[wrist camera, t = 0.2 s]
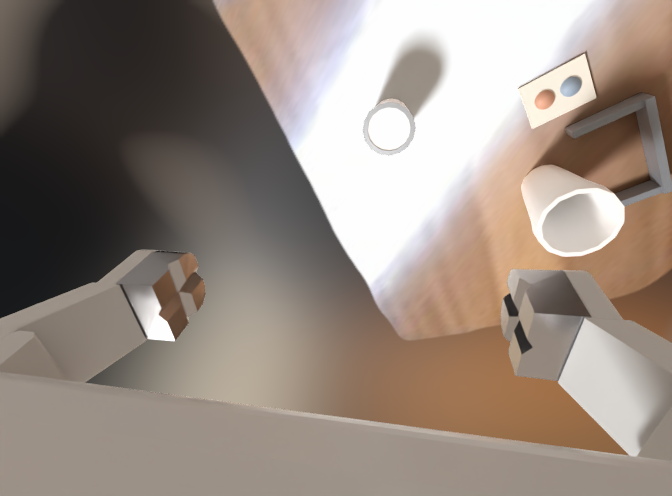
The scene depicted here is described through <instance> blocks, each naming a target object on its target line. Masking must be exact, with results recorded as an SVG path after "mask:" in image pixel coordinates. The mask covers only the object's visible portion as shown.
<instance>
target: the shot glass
mask: <svg viewBox="0 0 672 496" xmlns="http://www.w3.org/2000/svg"><path fill="white" fill-rule="evenodd" d="M414 132H415V123H414V118H413V116H412V114H411V113H410V111H409V110H408V108H407V107H406V105H405V104H404V103H403V102H401V101H400V100H398V99H392V98H389V99H386V100H382V101H381V102H380V103H379V104H378V105H376V106H375V107H374V108H373V109H372V110H371V111H370V112H369V114H368V115H367V117H366V119H365V121H364V127H363V134H364V137H365V141H366V143H367V144H368V145H369V147H370V148H371V149H372V150H374V151H376V152H377V153H379V154H383V155H393V154H397V153H400V152H401V151H403V150H404V149H405V148H407V147H408V146H409V144H410V142H411V141H412V139H413V137H414Z"/></svg>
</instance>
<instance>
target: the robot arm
mask: <svg viewBox="0 0 672 496" xmlns="http://www.w3.org/2000/svg"><path fill="white" fill-rule="evenodd" d="M197 268H198V263H197V261H196V258H195V256H194V255H193V254H191V253H188V252H174V251H160V250H159V251H156V250H138V251H135V252H134V253H133V254H132V255H131V256H129V257H128V258H127V259H126V260H124V261H123V262H122V263H121V264H119V265H118V266H117V267H116V268H115V269H113V270H112V271H111V272H110V273H108V274H107V275H106V276H105V277H103V278H102V279H101V280H100V281H98V282H97V283H90V284H87V285H84V286H82V287H80V288H77V289H75V290H72V291H69V292H67V293H64V294H62V295H59V296H57V297H54V298H52V299H49V300H46V301H44V302H41V303H39V304H36V305H34V306H31V307H29V308H26V309H24V310H21V311H19V312H16V313H14V314H11V315H9V316H6V317H3V318H1V319H0V496H672V343H671V342H669V341H667V340H665V339H663V338H662V337H660V336H658V335H656V334H655V333H653V332H651V331H649V330H648V329H645V328H644V327H642V326H641V325H639V324H637V323H635V322H633V321H628V320H623V319H622V317H621V316H620V314H619V313H618V312H617V310H616V309H615V308H614V306H613V305H612V303H611V302H610V301H609V299H608V298H607V296H606V295H605V294H604V292H603V291H602V289H601V288H600V287H599V285H598V284H597V283H596V281H595V280H594V278H593V277H592V276H591V274H590V273H588V272H586V271H579V270H560V271H558V270H529V269H512V270H511V272H510V274H509V277H508V281H507V285H508V288H509V291H510V293H509V294H508V295H507V296H505V297H504V298H503V302H502V307H501V327H502V331H503V335H504V337H505V338H506V339H507V340H508V341H509V342H511V344H510V347H509V356H510V359H511V362H512V365H513V369H514V371H515V375H516V376H523V377H531V378H539V379H547V380H555V381H558V383H559V384H560V385H561V386H562V387H563V388H564V389H565V390H566V391H567V392H568V393H569V394H570V395H571V396H572V397H573V399H574V400H575V401H577V402H578V404H580V406H581V407H582V408H583V409H584V410H586V412H587V413H588V414H589V415H590V416H591V417H592V418H593V419H594V420H595V421H596V422H597V423H598V424H599V425H600V426H601V427H602V428H603V429H604V430H605V431H606V432H607V433H608V434H609V435H610V436H611V437H612V438H613V439H614V440H615V441H616V442H617V443H618V444H619V445H620V446H621V447H622V448H623V449H624V450H625V451H626V452H627V453H628V454H629V455H630V456H627V455H620V454H612V453H605V452H597V451H589V450H582V449H575V448H567V447H560V446H552V445H545V444H537V443H530V442H523V441H515V440H507V439H500V438H493V437H485V436H478V435H471V434H463V433H456V432H448V431H440V430H433V429H425V428H418V427H411V426H403V425H395V424H388V423H380V422H373V421H365V420H358V419H351V418H343V417H335V416H329V415H321V414H314V413H306V412H299V411H291V410H284V409H276V408H268V407H261V406H253V405H246V404H239V403H231V402H223V401H216V400H208V399H201V398H194V397H186V396H179V395H172V394H164V393H156V392H149V391H141V390H134V389H126V388H119V387H112V386H104V385H96V384H89V383H85V382H86V381H87V380H89V379H90V378H92V377H93V376H95V375H96V374H98V373H99V372H101V371H102V370H104V369H105V368H107V367H108V366H110V365H111V364H112V363H114V362H115V361H117V360H118V359H120V358H121V357H123V356H124V355H126V354H127V353H129V352H130V351H131V350H133V349H134V348H136V347H138V346H139V345H140V344H142V343H143V342H145V341H146V339H155V340H169V341H176V339H177V338H178V337H179V336H180V334H181V333H182V331H183V330H184V329H185V328H186V326H187V325H188V324H189V320H188V317H189V316H190V315H192V314H194V313H196V312H197V311H198V310H199V309H200V307H201V306H202V304H203V301H204V298H205V285H204V281H203V279H202V278H201V277H200V276H199V275H198V274H197V273H196V270H197Z"/></svg>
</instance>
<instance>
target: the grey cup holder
mask: <svg viewBox="0 0 672 496" xmlns="http://www.w3.org/2000/svg"><path fill="white" fill-rule="evenodd" d="M633 112H636V116H637V121H638V125H639V130H640V134H641V139H642V144H643V148H644V153H645V157H646V162H647V166H648V171H649V175H650V180H649V181H647V182H644V183H641V184H639V185H636V186H634V187H631V188H628V189H626V190H623V191H620V192H618V193H615V195H616V196H617V198H618V199H619V200H620V202H621V203H622V204H623V205H624V206H627V205H629V204H632V203H635V202H638V201H640V200H643V199H646V198H649V197H651V196H654V195H657V194H660V193H664V194H666V193H668V192H671V191H672V181H671V176H670V171H669V166H668V161H667V155H666V150H665V145H664V140H663V135H662V130H661V124H660V119H659V114H658V109H657V104H656V99H655V96H653V95H649V94H645V93H642V92H641V93H639V94H637V95H634V96H632V97H630V98H628V99H626V100H624V101H622V102H619V103H617V104H615V105H613V106H611V107H609V108H607V109H604V110H602V111H600V112H598V113H596V114H594V115H592V116H589V117H587V118H585V119H583V120H581V121H579V122H577V123H574V124H572V125H570V126H568V127H566V128H565V129H566V132H567V134H568V135H569V136H571V137H572V138H574V139H575V138H577V137H579V136H582V135H584V134H586V133H588V132H591V131H593V130H595V129H597V128H599V127H602V126H604V125H606V124H608V123H611V122H613V121H615V120H617V119H619V118H622V117H624V116H626V115H628V114H631V113H633Z"/></svg>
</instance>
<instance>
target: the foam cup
mask: <svg viewBox="0 0 672 496" xmlns="http://www.w3.org/2000/svg"><path fill="white" fill-rule="evenodd" d="M521 189H522V195H523V198H524V201H525V204H526V207H527V211H528V214H529V217H530V220H531V224H532V231H533V233H534V235H535V236H536V238H537V239H538V241H539V242H540V243H541V244H542V245H543V246H544V248H545V249H546V250H547V251H549V252H551V253H554V254H557V255H560V256H563V257H566V256H583V255H586V254H588V253H591V252H594V251H596V250H599V249H601V248H602V247H604V246H605V245H606V244H607V243H609V242H610V241H611V240H612V239H614V238H615V237H616V235H617V234H618V232H619V230H620V228H621V227H622V225H623V223H624V205H623V204H622V203H621V202H620V200H619V199H618V198H617V196H616V195H615V194H614V193H613V192H611V191H610V190H609V189H608V188H606V187H605V186H603V185H600V184H597V183H594V182H591V181H589V180H586V179H584V178H582V177H580V176H578V175H576V174H574V173H572V172H569V171H567V170H565V169H563V168H561V167H558V166H555V165H541V166H539V167H537V168H535V169H533V170H531V171H530V172H529V173H528V174H527V176H526V177H525V178H524V180H523V183H522V185H521Z"/></svg>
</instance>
